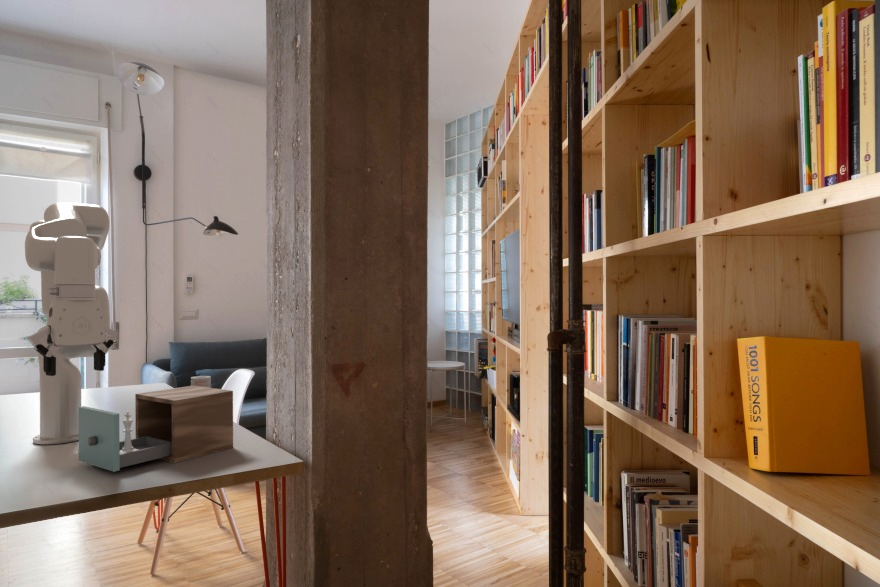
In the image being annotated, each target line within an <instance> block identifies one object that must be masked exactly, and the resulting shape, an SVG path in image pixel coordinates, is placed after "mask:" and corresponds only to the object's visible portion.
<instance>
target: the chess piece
mask: <svg viewBox="0 0 880 587" xmlns="http://www.w3.org/2000/svg"><path fill="white" fill-rule="evenodd" d="M124 417H126V418H125V419H124V420H122V424H123V425H124V428H125V429H123V430H122V433H125V436H124V437H125V438H124V441H125V442H124V447H123V448H122V449H123V450H120V454H123V453H127V452H132V451H136V450H138V449H135V448H133V446H132V443H131V439H132V438H131V432H133V431H134V429H133V428H131V426H132V425H133V424H132V423H133V418H130V417H132V414H130V411H126V413H125V414H124Z"/></svg>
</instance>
